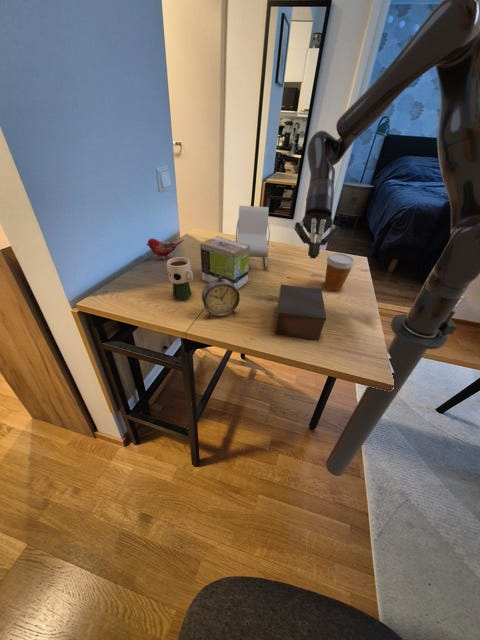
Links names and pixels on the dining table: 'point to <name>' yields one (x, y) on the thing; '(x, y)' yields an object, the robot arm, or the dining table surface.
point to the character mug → (180, 277)
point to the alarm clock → (220, 296)
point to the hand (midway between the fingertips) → (313, 257)
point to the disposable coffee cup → (337, 271)
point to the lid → (301, 302)
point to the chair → (254, 230)
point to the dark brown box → (298, 326)
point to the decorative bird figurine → (162, 247)
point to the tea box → (225, 260)
